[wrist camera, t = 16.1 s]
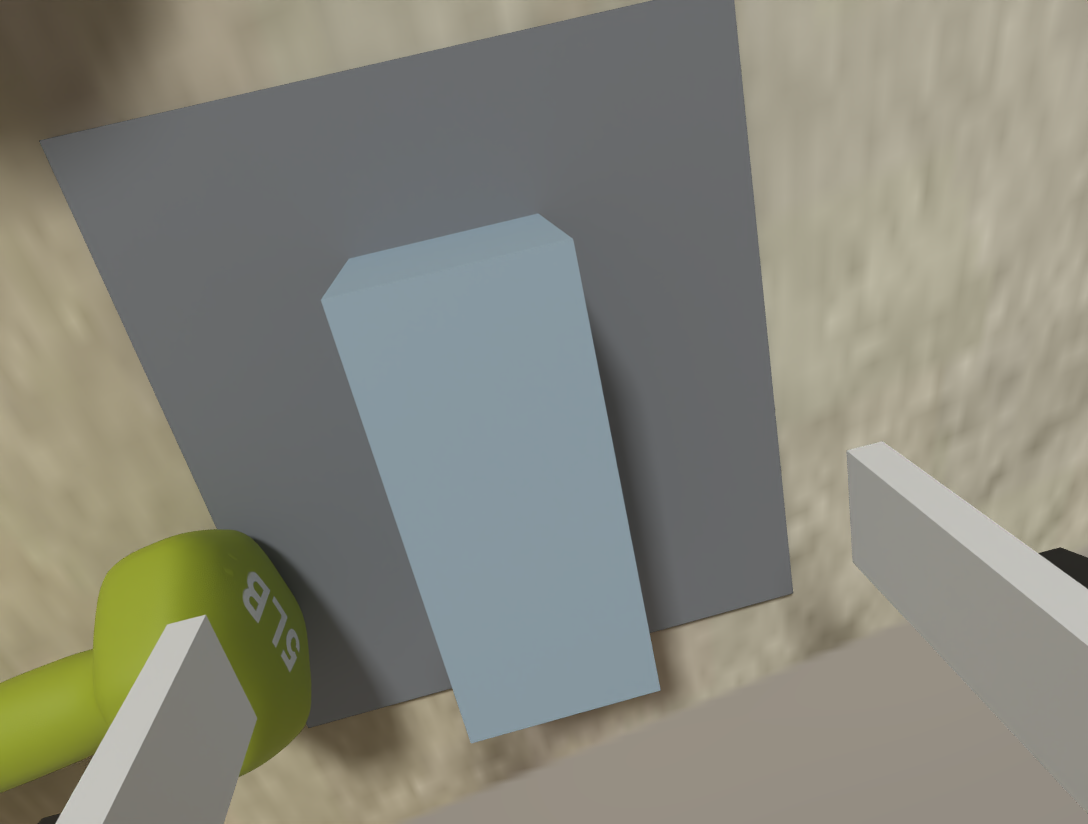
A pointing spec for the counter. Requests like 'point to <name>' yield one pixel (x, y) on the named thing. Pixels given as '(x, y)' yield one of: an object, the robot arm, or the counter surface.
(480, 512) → the block
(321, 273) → the mat
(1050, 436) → the counter surface
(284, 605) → the dumbbell
